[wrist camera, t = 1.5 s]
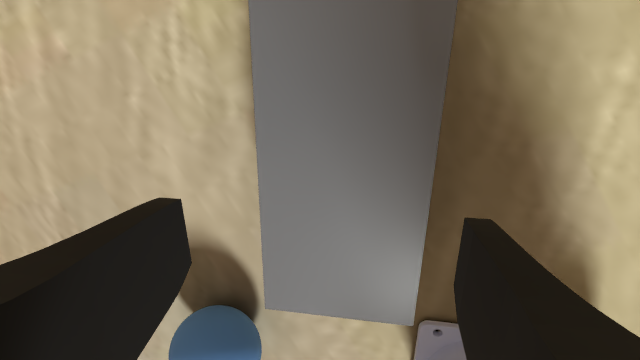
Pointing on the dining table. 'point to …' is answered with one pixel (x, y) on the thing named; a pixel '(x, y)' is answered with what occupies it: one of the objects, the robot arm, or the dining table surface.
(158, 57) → the dining table surface
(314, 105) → the grey rectangular block
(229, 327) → the ball
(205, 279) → the dining table surface
